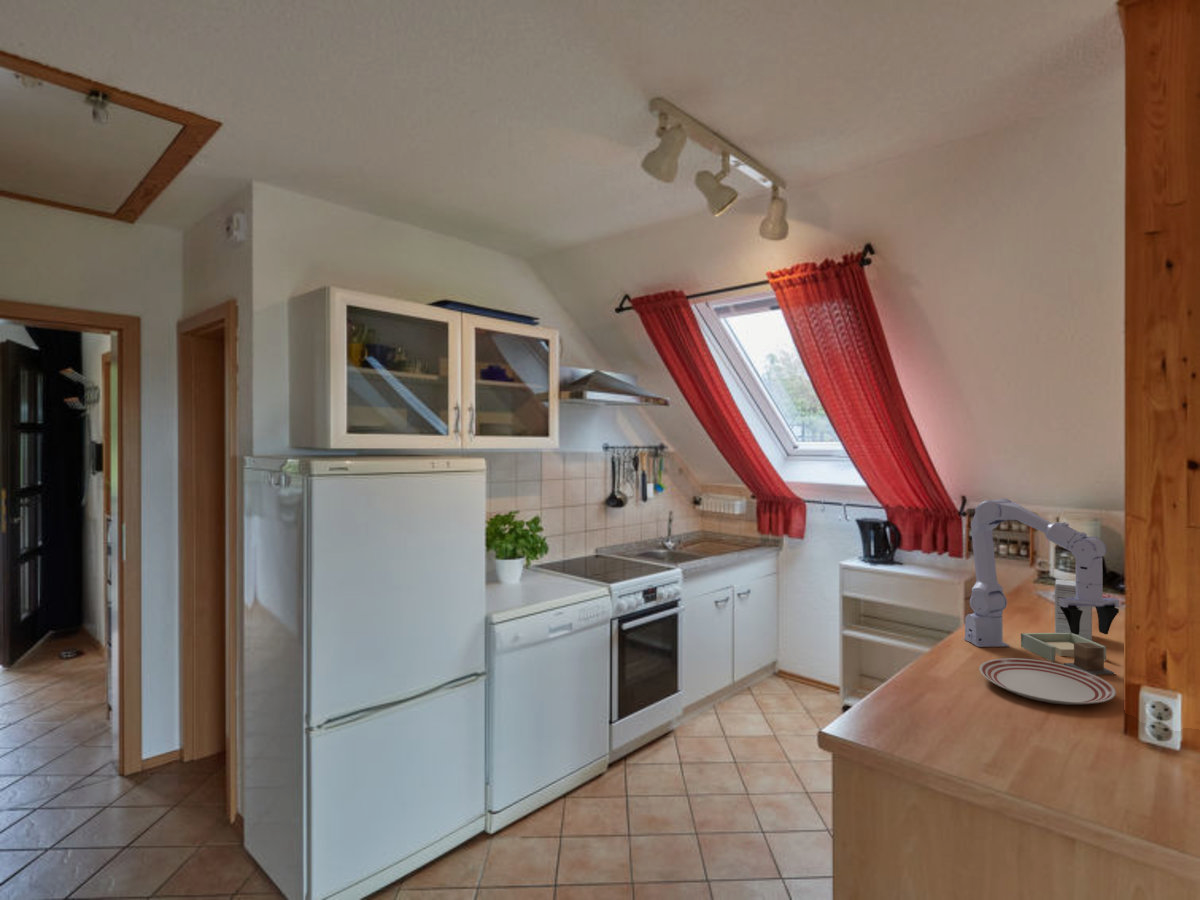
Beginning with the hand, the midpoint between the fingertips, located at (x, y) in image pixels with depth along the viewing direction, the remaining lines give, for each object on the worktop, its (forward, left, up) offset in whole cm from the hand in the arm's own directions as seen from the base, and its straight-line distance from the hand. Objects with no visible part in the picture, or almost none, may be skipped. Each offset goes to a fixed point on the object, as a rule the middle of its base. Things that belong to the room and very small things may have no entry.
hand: (1089, 633), depth 168 cm
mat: (0, 0, -10) cm, 10 cm away
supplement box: (+17, +29, -10) cm, 35 cm away
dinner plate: (-21, -13, -10) cm, 27 cm away
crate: (+2, +13, -10) cm, 16 cm away
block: (0, 0, -9) cm, 9 cm away
